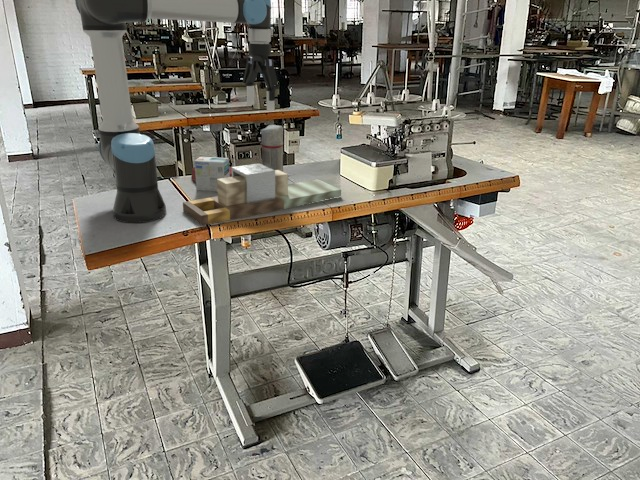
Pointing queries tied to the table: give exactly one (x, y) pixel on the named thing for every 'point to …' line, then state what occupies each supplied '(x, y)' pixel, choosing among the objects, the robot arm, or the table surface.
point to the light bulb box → (210, 172)
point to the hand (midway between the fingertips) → (260, 107)
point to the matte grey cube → (257, 182)
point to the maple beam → (234, 188)
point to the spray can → (272, 147)
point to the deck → (297, 195)
